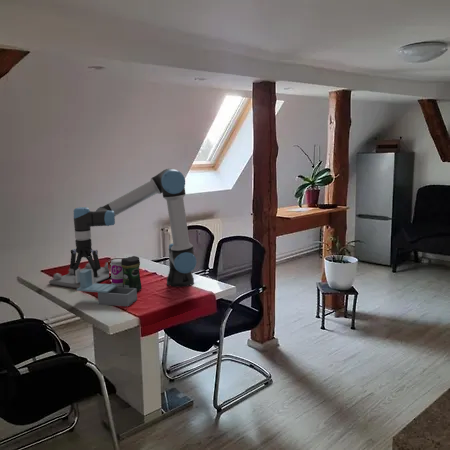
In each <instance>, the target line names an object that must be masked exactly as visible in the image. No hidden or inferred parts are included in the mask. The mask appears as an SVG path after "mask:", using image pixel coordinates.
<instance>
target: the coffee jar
mask: <svg viewBox="0 0 450 450" xmlns="http://www.w3.org/2000/svg"><path fill="white" fill-rule="evenodd" d="M139 257H140V256H135V255H132V256H128V257H125V258H124V257H123V258H121V259H122V260H121V266H122V268H123V287H124V288H137V292H139V291H141V290H142V289H143V288H142V280H141V275H140V265H141V261H140V258H139Z"/></svg>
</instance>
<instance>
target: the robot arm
mask: <svg viewBox="0 0 450 450" xmlns="http://www.w3.org/2000/svg"><path fill="white" fill-rule="evenodd" d="M185 187H186V179H185V175H184V174H183V173H182V172H181V171H180V170H178V169H176V168H175V169H174V168H166V169H163V170H162V171H160V172H159V173H158V174H156V175H154V176H153V177H151V178H150V180H149V181H148V182H146V183H144V184H142V185H140V186H138V187H136V188H134V189H133V190H131V191H129V192H127V193H126V194H123V195H121V196H119V197H118V198H116V199H114V200H113V201H112V200H111V201H110V202H108V203H106V204H105V205H102V206H99V207H98V208H97V209H96V210H94V211H91V210H90V208H89V207H87V206H85V207H80V206H79V207H75V208H74V209H73V226H74V238H75V241H74V242H75V247H76V248H73V249H70V253H71V255H70V265H69V267H70V268H69V269H73V270H74V276H76V283H79V282H80V269H81V268H80V264H81V261H82V258H85V259H86V260H87V261H88V263H89V264H90V266H91V268H92V270H93V271H92V284H95V283H97V282H96V277H97V270H99V269H101V267H102V266H101V263H100V259H99V256H98V249H93V247H92V245H93V244H92V239H91V238H92V232H91V227H93V228H94V227H106V226H107V227H109V226H114V225H116V220H115V217H116V216H118V215H120V214H122V213H123V212H125V211H127V210H129V209H132V208H133V207H135V206H137V205H138V204H141V203H142V202H144V201H146V200H148V199H150V198H151V197H153V196H155V195H156V194H159V195H161V194H162V197H163V198H164V200H166V206H167V213H168V219H169V225H170V231H171V233H170V234H171V239H172V243H169V245H168V259H169V263H168V264H169V271H168V274H167V278H166V285H167V286H170V287H174V288H182V287H183V288H184V287H185V288H186V287H189V286H192V285H194V283H195V278H194V276H193V273H192V272H193V270H194V269H195V268H196V266H197V263H198V262H197V258H196V256H195V251H194V245H193V243H191V242H190V238H189V237H190V235H189V230H188V223H187V217H186V208H185V202H184V197H185V196H186V188H185ZM76 256H77V257H76ZM78 268H79V269H78Z"/></svg>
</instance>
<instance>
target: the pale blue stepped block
mask: <svg viewBox="0 0 450 450" xmlns="http://www.w3.org/2000/svg"><path fill="white" fill-rule="evenodd" d="M80 286H81V287H80V288H78V289H76V291H77V292H89V293H90V292H91V293H98V292H101V293H108V292H110V291H111V290H113V289H114V288H116V287H117V285H112V283H99V282H98V283H95V284H92V272H91V269H85V270H83V271H81V272H80Z"/></svg>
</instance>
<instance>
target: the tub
mask: <svg viewBox="0 0 450 450" xmlns="http://www.w3.org/2000/svg"><path fill="white" fill-rule="evenodd" d="M137 301H138V291H137V288H124V287H116V288H114V289H113V290H111V291H110V292H108V293H101V292H97V304H98V305H101V306H102V305H105V306H117V307H126V306H127V307H128V306H129V307H131V305H133V304H134V303H135V302H137ZM133 302H134V303H133Z"/></svg>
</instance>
